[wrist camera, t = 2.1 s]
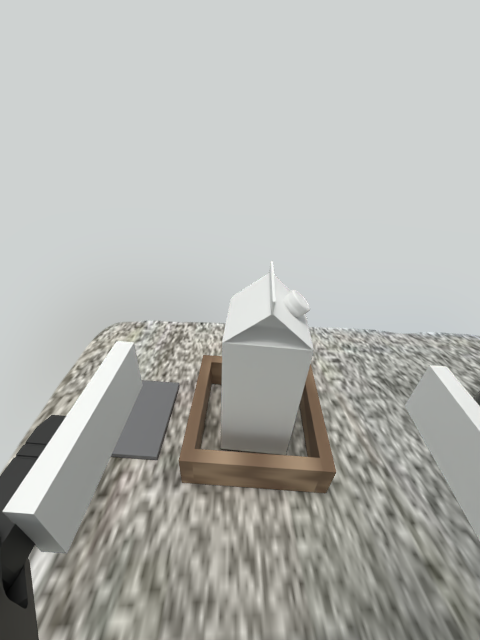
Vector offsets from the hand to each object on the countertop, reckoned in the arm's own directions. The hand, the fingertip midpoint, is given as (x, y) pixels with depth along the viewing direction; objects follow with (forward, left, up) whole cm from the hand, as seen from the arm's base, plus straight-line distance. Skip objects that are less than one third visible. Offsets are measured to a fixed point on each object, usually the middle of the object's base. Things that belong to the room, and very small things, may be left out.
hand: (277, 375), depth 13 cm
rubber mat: (+15, -11, -19) cm, 26 cm away
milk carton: (0, -11, -19) cm, 22 cm away
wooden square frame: (0, -11, -19) cm, 22 cm away
